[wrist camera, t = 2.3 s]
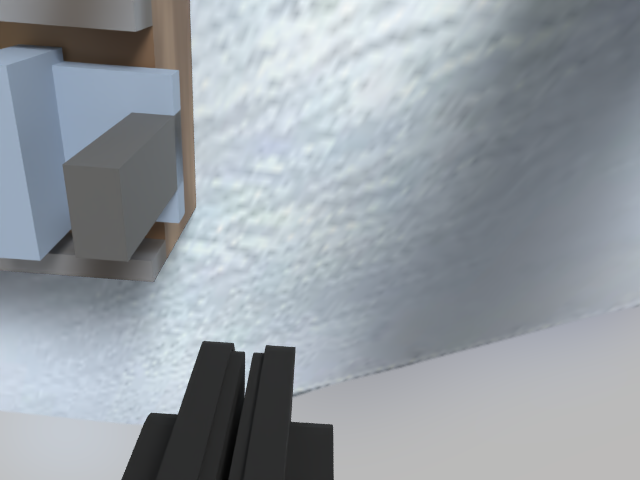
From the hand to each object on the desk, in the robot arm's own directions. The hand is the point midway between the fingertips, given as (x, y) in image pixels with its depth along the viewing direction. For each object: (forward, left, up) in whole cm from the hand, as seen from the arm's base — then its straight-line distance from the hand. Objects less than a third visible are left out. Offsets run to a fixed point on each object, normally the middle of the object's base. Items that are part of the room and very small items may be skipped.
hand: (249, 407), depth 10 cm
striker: (+8, 0, -14) cm, 16 cm away
